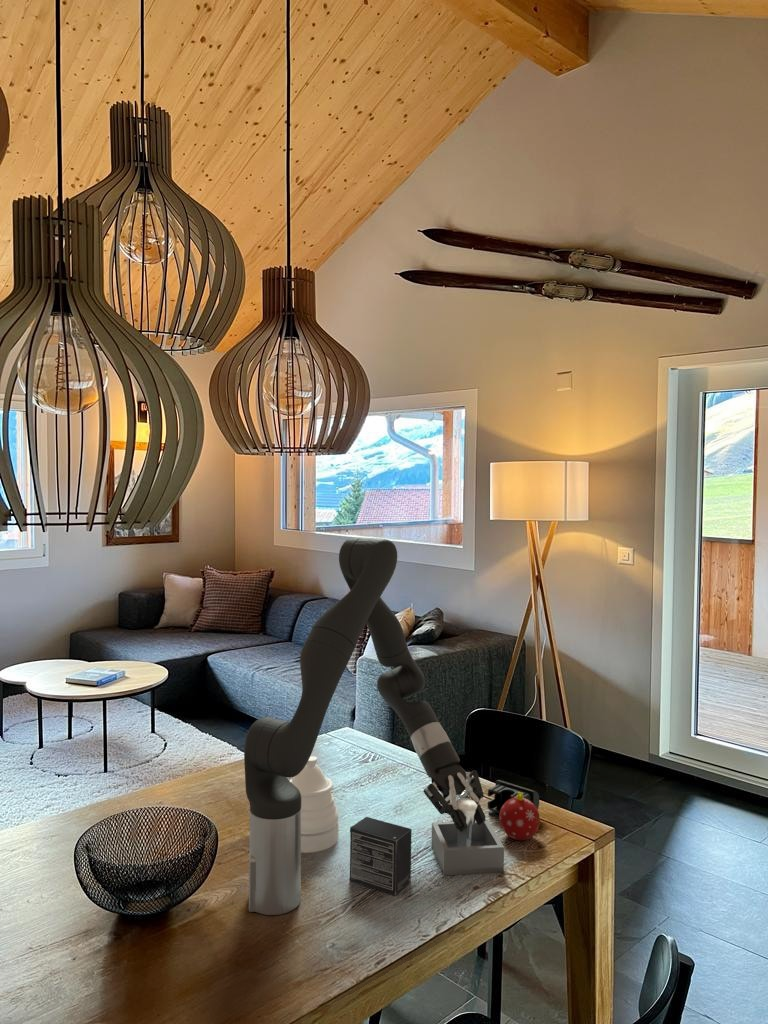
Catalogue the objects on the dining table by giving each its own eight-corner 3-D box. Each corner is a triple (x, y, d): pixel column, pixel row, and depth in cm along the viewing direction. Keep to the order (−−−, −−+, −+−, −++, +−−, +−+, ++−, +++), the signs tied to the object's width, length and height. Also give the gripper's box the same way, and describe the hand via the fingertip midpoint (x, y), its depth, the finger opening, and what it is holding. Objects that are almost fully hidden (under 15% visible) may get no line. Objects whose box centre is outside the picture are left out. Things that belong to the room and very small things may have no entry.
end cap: (539, 816, 176) (540, 787, 176) (523, 827, 170) (524, 797, 170) (501, 804, 182) (502, 776, 182) (485, 814, 177) (486, 785, 177)
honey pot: (344, 848, 160) (345, 763, 159) (282, 856, 156) (283, 769, 155) (331, 821, 172) (332, 742, 171) (274, 828, 168) (274, 747, 167)
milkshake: (478, 851, 153) (480, 802, 153) (451, 847, 154) (453, 798, 154) (480, 840, 158) (482, 793, 157) (454, 837, 159) (456, 790, 158)
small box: (412, 881, 147) (413, 827, 147) (396, 897, 141) (396, 841, 141) (366, 866, 152) (366, 814, 152) (348, 880, 147) (348, 827, 146)
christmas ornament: (526, 851, 159) (527, 804, 159) (491, 838, 165) (492, 792, 164) (546, 837, 166) (547, 791, 165) (512, 825, 171) (513, 781, 171)
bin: (443, 875, 149) (444, 850, 149) (431, 845, 161) (431, 822, 161) (503, 871, 151) (504, 847, 151) (487, 842, 163) (487, 819, 162)
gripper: (417, 747, 156) (456, 828, 147) (467, 734, 165) (508, 809, 156) (400, 765, 161) (437, 844, 152) (450, 750, 170) (488, 824, 161)
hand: (473, 825), depth 154 cm, fingers closed on milkshake, 4 cm apart
